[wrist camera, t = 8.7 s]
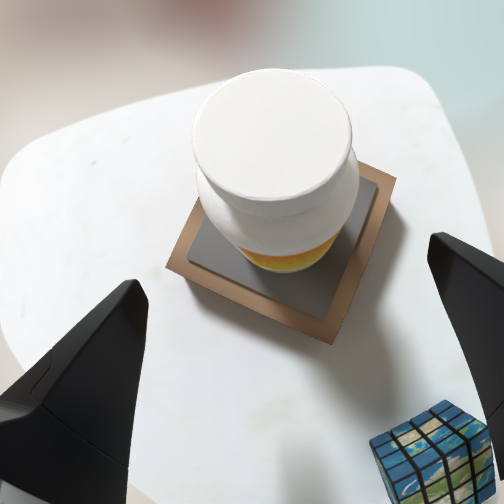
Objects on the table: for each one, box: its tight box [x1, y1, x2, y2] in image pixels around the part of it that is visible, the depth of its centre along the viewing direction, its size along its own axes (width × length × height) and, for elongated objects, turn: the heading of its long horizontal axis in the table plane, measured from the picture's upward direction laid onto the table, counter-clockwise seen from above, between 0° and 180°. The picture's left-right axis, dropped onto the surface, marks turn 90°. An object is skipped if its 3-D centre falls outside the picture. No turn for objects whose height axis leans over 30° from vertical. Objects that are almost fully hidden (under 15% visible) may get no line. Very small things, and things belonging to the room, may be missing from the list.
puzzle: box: [369, 400, 496, 504], centre depth 13 cm, size 6×6×6 cm
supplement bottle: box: [192, 69, 359, 273], centre depth 12 cm, size 5×5×10 cm
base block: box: [165, 161, 397, 345], centre depth 18 cm, size 10×10×3 cm
